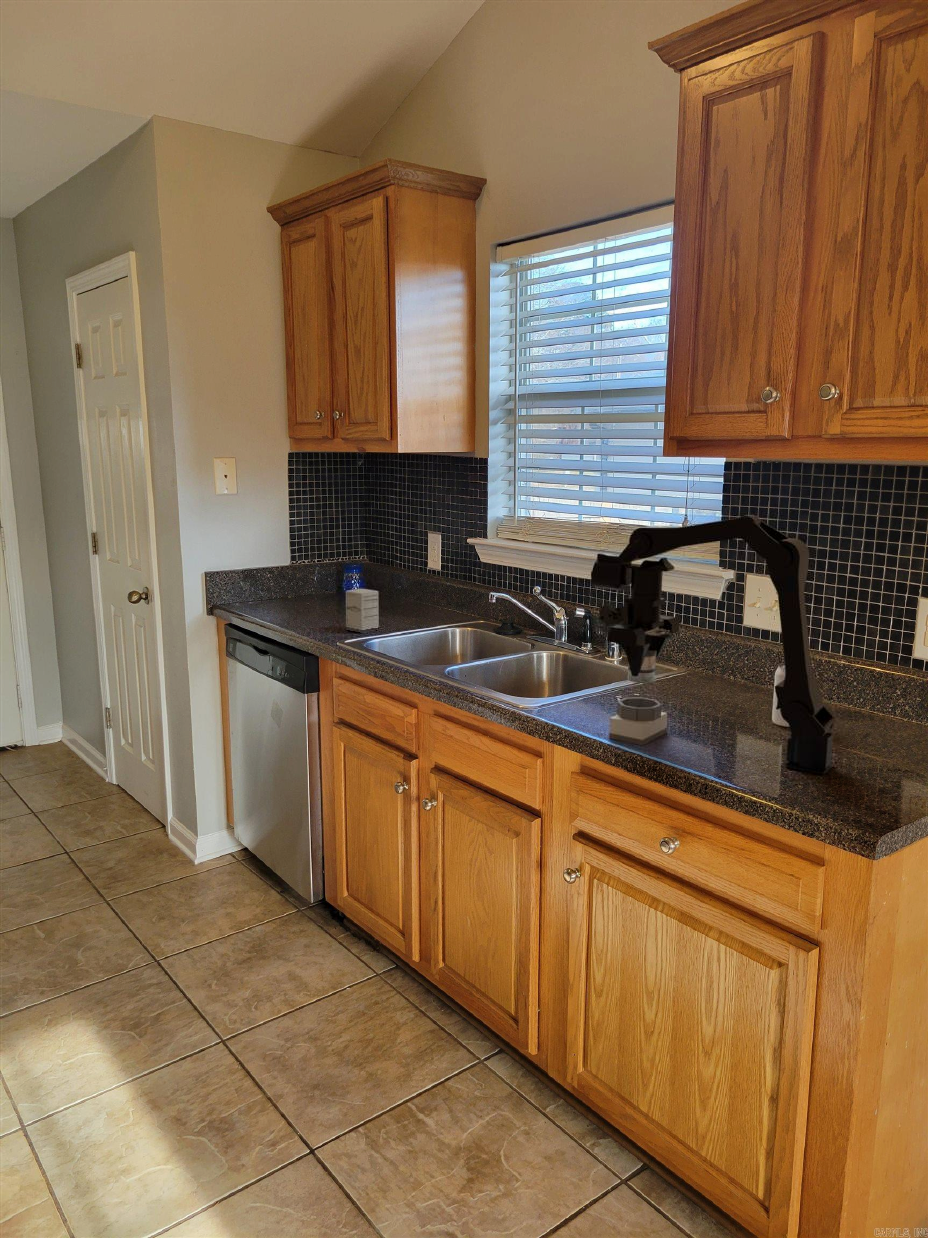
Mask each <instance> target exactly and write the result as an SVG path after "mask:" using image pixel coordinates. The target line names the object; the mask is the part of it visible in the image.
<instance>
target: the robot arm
mask: <svg viewBox="0 0 928 1238" xmlns="http://www.w3.org/2000/svg"><path fill="white" fill-rule="evenodd" d="M737 539H741V540H742V541H743V542H745V543H746V544H747V545H748V546H749V547H750V548H751V549H752V551H754V552H755V553H756V554H757V555H759V556H760V557H761V558H763V560H765V565H766V568H767V572H768V574H769V575H768V576H769V579H770V581H771V583H772V584H773V587H774V590H776V593H777V594H776V595H777V601H778V611H779V620H780V630H781V631H780V632H781V642H782V650H783V660H784V662H783V663H785V679H784V680H783V681H781V682H780V683H779V684H778V685H776V686H775V692H776V696H777V707H776V709H777V710H778V709H780V712H781V716H782V718H783V719H784V720H785V721H786V722H788V723H789V726H790V729H789V731H790V732H791V733H790V736H789V738H787V743H786V744H787V745H786V757H785V758H786V763H785V768H789V769H793V770H797V771H803V772H808V773H811V774H817V775H825V774H826V773H827V772H828V771H829V770H830V769H832V768H833V767H834V766H835V762H833V761H832V752H833V742H834V734H833V733H831V732H829V731H830V730H831V729H833V726H834V724H835V722H836V720H837V718H836V717H835V716H834V715H833V713H831V712H830V710H829V709H828V708H827V707H826V706H825V704H824V699H823V696H822V692H821V690H820V689H821V688H820V685H819V683H818V680H817V679H816V676H815V674H814V672H813V669H812V662H811V649H810V641H809V640H810V639H809V630H808V621H807V610H806V609H807V608H806V599H805V587H806V582H807V577H808V572H809V562H810V561H809V560H810V550H809V547H808V546H807V544H806V543H804V542H803V540H800V539H798V538H796V537H795V538H794V537H793V538H791V537H788V536H787V535H785V534H784V533H783V532H782V531H780V530H778V529H776V528H774V527H772V526H771V525H769V524H767V523H766V522H764V521H763V520H761V519H760V517H758V516H757V515H754V514H746V515H742V516H738V517H735V518H729V519H723V520H717V521H711V522H709V521H708V522H705V523H698V524H694V525H693V524H692V525H691V524H690V525H685V526H681V525H680V526H677V525H648V526H643V527H642V526H641V527H638V528H635V529H634V530H633V531H632V533H630V536H629V540H628V544H627V545H626V546H625V548H624V549H623V550H622V552H621V553H620V554H612V553H608V552H607V553H606V552H599V553H597V555H596V560H595V562H594V564H593V567H592V570H591V571H590V581H591V585H592V586H593V587H594V588H596V589H604V590H614V591H624V590H626V589H627V587H629V586H630V596H629V597H626V598H625V599H624V600H623V601H624V605H621V606H618V607H614V606H613V605H612V604H611V603H610V604H606V605H602V606H600V609H599V612H598V615H599V616H598V619H597V620H598V621H600V622H601V623H603V626H604V628H607V627H610V626H611V627H610V628H609V629H607V631H606V637H605V638H606V640H605V641H606V642H607V643H613V644H617V645H619V646H620V647H621V648H623V650H624V652H625V656H626V658H627V663H628V666H629V667H630V670H631V674H632V676H635V677H637V676H638V675H639V672H640V670H641V667H642V664H643V661H644V659H645V656H646V653H647V650H648V647H652V648H655V649H656V650H657V653H656V661H655V664H656V663H657V661H658V659H659V657H660V655H661V653H662V652H663V651H664V649H665V647H666V645H667V643H668V642H669V640H670V639H671V638H672V635H671V634H676V633H679V631H680V621H679V620H678V619H677V617H676V616H669V615H663V614H661V608H662V606H663V605H665V604H666V598H663V597H662V592H663V590H662V589H663V576H664V575H663V572H665V573H666V572H670V571H674V569H675V566H674V565H673V564H672V563H670V561H669V560H668V558H667V557H660V559H659V560H649V559H648V558H651V557H657V556H660V555H663V554H667V553H669V552H672V551H675V550H678V549H681V548H684V547H689V546H696V545H703V544H709V543H710V544H711V543H716V542H723V541H729V540H737ZM644 559H645V560H644ZM639 560H643V561H642V562H641V563H640V564H639V563H633V562H637V561H639ZM666 631H669V633H670V634H666V633H665V632H666Z"/></svg>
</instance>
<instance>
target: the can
mask: <svg viewBox="0 0 928 1238" xmlns="http://www.w3.org/2000/svg"><path fill="white" fill-rule="evenodd" d="M784 679H785V663H784V662H782V663H778V664H777V669H776V670H775V673H774V685H773V696H772V697H773V700H772V716H771V717H772V719H771V721H772V722H773V723H774V725H776V726H779V727H782V726H783V727H784V728H790V726H789V723H788V722H786V721H785V720H784V719H783V718H782V716H781V712H780V709H778V710H777V709H776V707H777V696H776V692H775V686H776V685H778V684H779V683H780V682H781V681H783V680H784Z"/></svg>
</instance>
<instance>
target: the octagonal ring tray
mask: <svg viewBox="0 0 928 1238" xmlns="http://www.w3.org/2000/svg"><path fill="white" fill-rule="evenodd" d="M616 705H617V707H616V709H617V710H616V711H617V712H616V715H614V716H613V715H612V716H611V717H609V733H608V739H614V740H617V741H621V742H626V743H631V744H635V745H640V746H643V745H645V744H647V743H649V742H651V741H653V740H655V739H658V738H659V737H661V736H663V735H665V734H666V733H668V732H667V730H668V724H667V722H668V713H667V712H663V711H662V703H661V702H659V701H658V700H656V699H652V698H647V697H636V696H635V697H624V698H621V699H619V700H618V701H617V703H616Z"/></svg>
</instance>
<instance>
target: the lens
mask: <svg viewBox="0 0 928 1238" xmlns="http://www.w3.org/2000/svg"><path fill="white" fill-rule="evenodd" d="M656 653H657V650H656V649H655V648H652V647H648V650H647V653H646V656H645V659H644V661H643V664H642V667H641V670H640V672H639V675H638V676H637V677H635V676H632V674H631V670H630V667H629V665H627V671H628V672H627V680H628V681H630V682H633V683H639V684H651V683H653V682H655V676H656V674H655V673H656V663H655V661H656ZM656 662H657V661H656Z"/></svg>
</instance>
